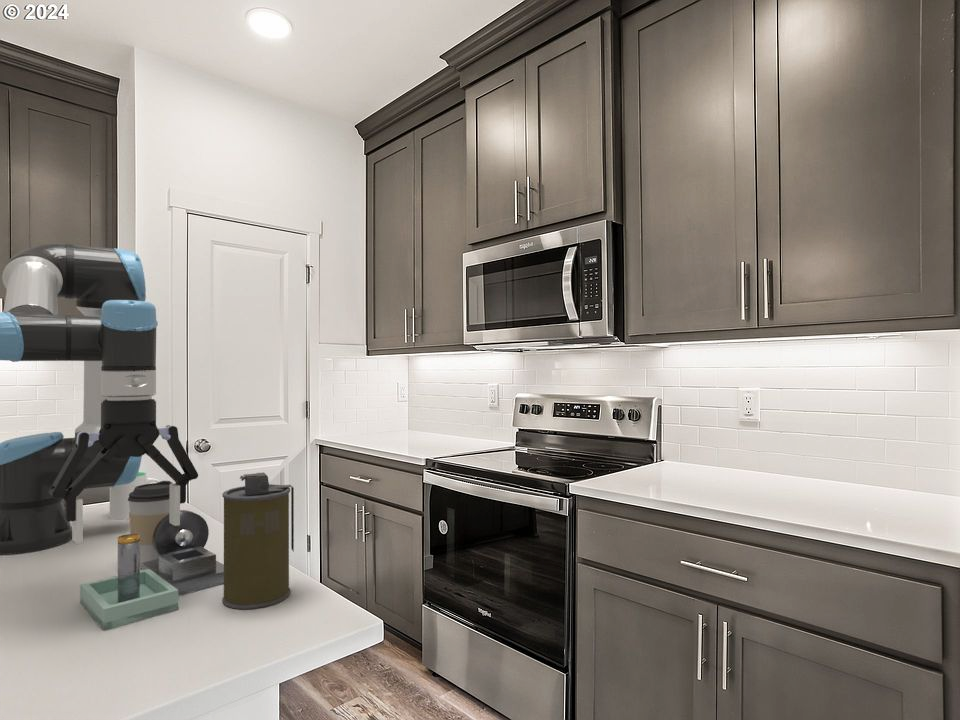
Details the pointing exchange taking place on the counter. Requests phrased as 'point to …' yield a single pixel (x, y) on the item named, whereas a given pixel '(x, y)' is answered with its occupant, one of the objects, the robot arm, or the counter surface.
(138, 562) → the lock pin
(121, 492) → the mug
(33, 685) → the counter surface
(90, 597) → the tray
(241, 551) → the canister
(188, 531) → the tensioner
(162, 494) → the coffee cup
